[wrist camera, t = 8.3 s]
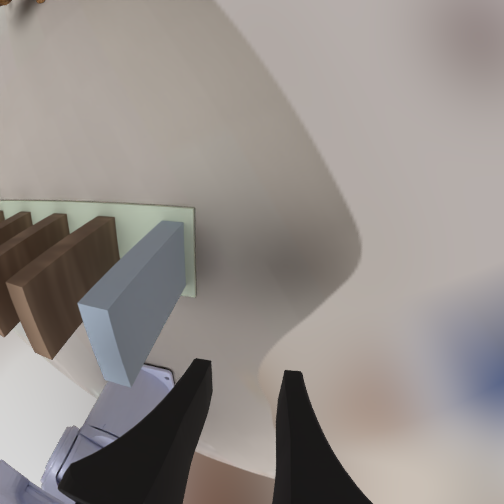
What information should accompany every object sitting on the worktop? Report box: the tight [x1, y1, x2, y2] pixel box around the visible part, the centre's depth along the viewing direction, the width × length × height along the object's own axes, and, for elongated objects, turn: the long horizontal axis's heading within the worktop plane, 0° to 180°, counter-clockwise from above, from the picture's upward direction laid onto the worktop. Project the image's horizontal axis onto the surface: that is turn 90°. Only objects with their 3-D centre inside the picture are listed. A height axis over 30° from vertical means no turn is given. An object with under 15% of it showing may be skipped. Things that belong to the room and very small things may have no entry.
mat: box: [0, 200, 196, 298], centre depth 21 cm, size 7×28×1 cm, turn 86°
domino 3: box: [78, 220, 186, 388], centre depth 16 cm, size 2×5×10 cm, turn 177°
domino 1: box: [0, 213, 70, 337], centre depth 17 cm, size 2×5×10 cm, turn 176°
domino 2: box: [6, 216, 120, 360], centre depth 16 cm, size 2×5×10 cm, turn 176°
